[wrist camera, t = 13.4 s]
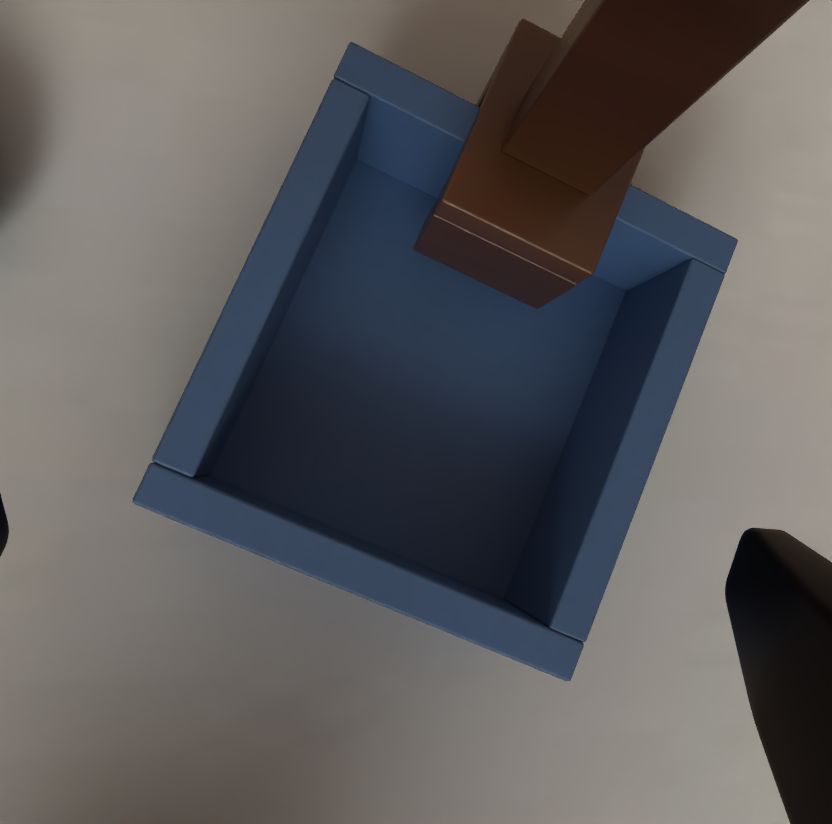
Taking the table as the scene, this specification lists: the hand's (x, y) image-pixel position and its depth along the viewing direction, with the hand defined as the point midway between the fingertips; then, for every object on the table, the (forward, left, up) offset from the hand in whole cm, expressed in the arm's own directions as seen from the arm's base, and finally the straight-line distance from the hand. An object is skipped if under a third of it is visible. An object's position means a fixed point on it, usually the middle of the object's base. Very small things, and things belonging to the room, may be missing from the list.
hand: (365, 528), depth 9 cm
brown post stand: (+5, -8, -11) cm, 15 cm away
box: (+1, -4, -13) cm, 13 cm away
